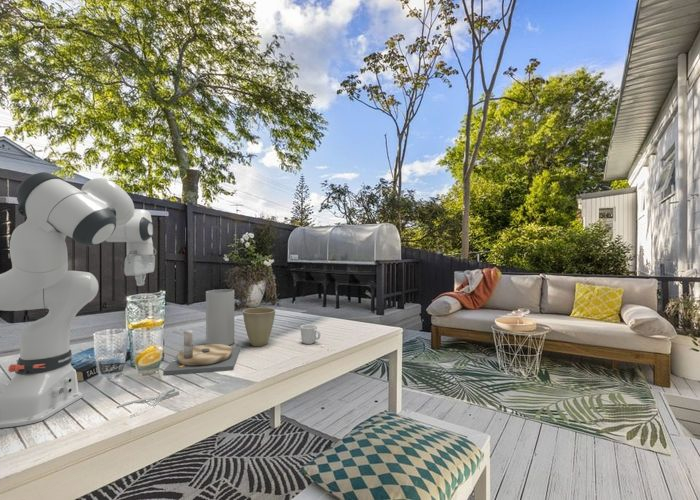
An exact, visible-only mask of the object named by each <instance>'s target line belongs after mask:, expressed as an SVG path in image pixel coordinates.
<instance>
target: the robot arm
mask: <svg viewBox="0 0 700 500" xmlns="http://www.w3.org/2000/svg"><path fill="white" fill-rule="evenodd" d="M16 194H17V195H16V201H17V203H18V206H17V209H16V210H17V211H18V214H19V215H21V216H23V217H26V220H25V221H24V222H23V223H21V224H19V225H18V226H17V227H16V228H14V230H13V231H12V234H11V235H10V236H11V237H10V241H9V257H10V261H11V269H9V270H7V271H5V272H2V273H0V311H4V312H5V311H6V312H7V311H8V312H13V311H14V312H17V311H19V312H20V311H30V310H39V309H40V310H41V309H48V313H46V315H45V316H44V317H41V318H39V319H37V320H35V321H32V322H31V323H29V324H27V325H26V326H24V327H23V328H22V330H21V332H20V333H19V358H18V359H17V362H16V364H13V363H12V364H10V365H9V366H8V368H7V371H8V372H9V373H13V372H15V374H14V376H13V377H12V379H11V380H10V381H9V382H8V384H7V385H6V386H5V387H4V389H3V390H2V392H1V393H0V429H2V428H12V427H19V426H26V425H30V424H35V423H39V422H42V421H44V420H46V419H48V418H49V417H51V416H53V415H55V414H56V413H58V412H60V411H61V410H63V409H65V408H66V407H68V406H70V405H71V404H73V403H76V402H77V401H79V399H82V398H83V397H84V394H83V392H81V391H79V383H78V376H77V371H76V369H75V368H74V367H73V365H72V364H71V362H72V360H73V359H72V358H73V354H72V349H71V348H70V346H71V345H70V339H71V338H70V336H71V328H72V324H73V322H74V319H75V317H76V316H77V314H78V313H79V312H80V311H81V310H82V309H83V308H84V307H85V306H86V305H87V304H89V303H91V302H92V301H93V300H94V299H95V298H96V297H97V294H98V293H99V282H98V279H97V277H96V276H95V275H94V274H93V273H91V272H88V271H80V270H68V269H69V261H68V259H69V258H68V257H69V256H68V247H67V243H66V238H67V237H69V238H71V239H72V240H73V241H74V242H76V243H78V244H80V245H83V246H86V247H94V246H98V245H100V244H102V243H103V244H105V243H126V256H125V259H124V268H123V270H124V271H123V273H124V275H125V277H127V276H129V277H130V276H133V277H134V279H135V283H136V286H137V287H141V286H145V280H146V277H147V274H149V273H154V272H155V267H156V266H155V265H156V256H155V255H156V254H157V250H156V248H155V247H154V242H153V239H152V237H153V236H154V223H153V219H152V215H151V212H150V211H149V210H148V209H147V210H146V209H143V208H142V209H141V208H135V205H134V202H133V199H132V198H131V197H130V195H129V194H128V193H127V191H125V190H124V189H123V188H122V187H121V186H120V185H118V184H117V183H116V182H114V181H112V180H110V179H107V178H102V177H99V178H97V177H96V178H92V179H90V180H88V181H86V182H85V183H84V184H83V185H82V186H81V188H80V189H79V188H77V187H76V186H74V185H72V184H71V183H68V182H67V181H66V180H65V179H63V178H62V177H60V176H58V175H56V174H53V173H51V172H45V171H44V172H37V173H33V174H31V175H28V176H27V177H25V179H23V180H22V181H21V182H20V183H19V185H18V186H17V193H16Z"/></svg>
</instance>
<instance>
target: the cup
mask: <svg viewBox="0 0 700 500" xmlns="http://www.w3.org/2000/svg"><path fill="white" fill-rule="evenodd" d="M299 329H300V339H301V342H302V344H305V345H311V344H314V343H315V342H316V341H317V340H320V338H321V331H320V330H319V329H318V326H317V324H312V323H310V324H308V323H307V324H301V325H300V328H299Z"/></svg>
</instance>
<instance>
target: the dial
mask: <svg viewBox="0 0 700 500" xmlns="http://www.w3.org/2000/svg"><path fill="white" fill-rule="evenodd" d="M193 334H194V332H193V330H190V329H189V330H185V331H183V351H181V350H180V351H179V352H178V354H177V355H178V362H179V363H181V364H184V365H207V364H212V363H217V362H220V361H223V360H226V359H228V358H229V357H230V356H231V355H232V348H231V347H232V346H231V345H223V344H201V345H199V344H198V345H195V346H193V345H194V344H193V341H194V340H193V339H194V338H193V337H194V336H193Z"/></svg>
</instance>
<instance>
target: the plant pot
mask: <svg viewBox="0 0 700 500" xmlns="http://www.w3.org/2000/svg"><path fill="white" fill-rule="evenodd" d="M275 313H276V309H275V308H271V307H252V308H246V309H243V310H242V317H243V323H244V327H245V330H246V335H247V338H248V341H249V343H250V345H251V346H254V347H261V346H265V345H268V342H269V339H270V337H271V332H272V330H273V325H274V323H275V317H276V316H275V315H276V314H275Z"/></svg>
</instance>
